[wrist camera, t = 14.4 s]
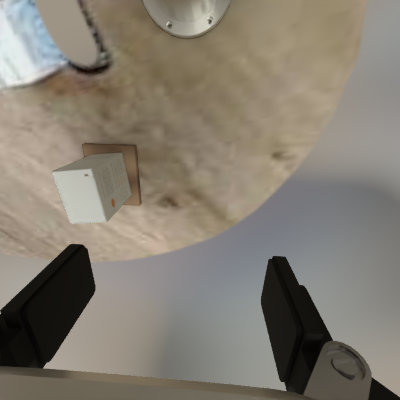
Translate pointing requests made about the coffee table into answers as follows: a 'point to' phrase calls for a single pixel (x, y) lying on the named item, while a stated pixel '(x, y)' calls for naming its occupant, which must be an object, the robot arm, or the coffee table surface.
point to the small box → (93, 187)
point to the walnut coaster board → (130, 164)
